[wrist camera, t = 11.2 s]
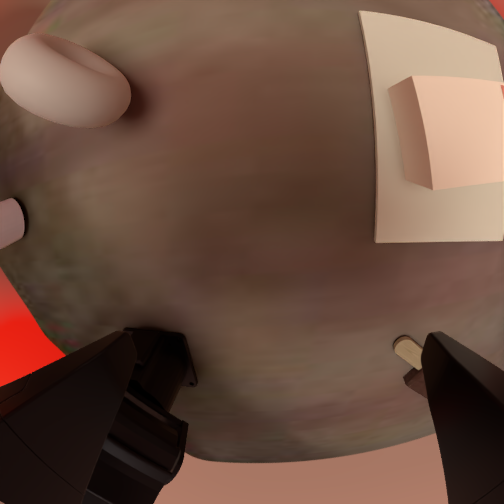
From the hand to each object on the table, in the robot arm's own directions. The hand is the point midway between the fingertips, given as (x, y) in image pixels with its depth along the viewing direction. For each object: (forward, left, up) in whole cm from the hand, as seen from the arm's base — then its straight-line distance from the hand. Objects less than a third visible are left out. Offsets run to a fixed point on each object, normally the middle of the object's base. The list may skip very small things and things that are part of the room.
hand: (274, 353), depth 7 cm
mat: (+7, -12, -12) cm, 18 cm away
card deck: (+7, -12, -12) cm, 18 cm away
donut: (+12, +12, -12) cm, 21 cm away
